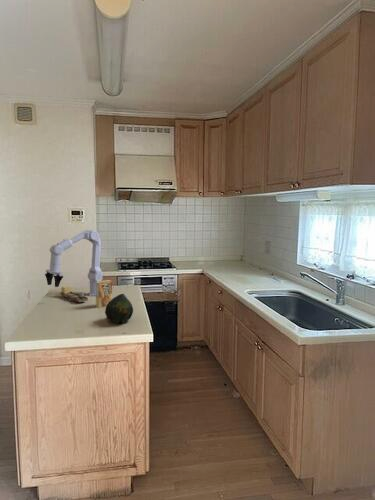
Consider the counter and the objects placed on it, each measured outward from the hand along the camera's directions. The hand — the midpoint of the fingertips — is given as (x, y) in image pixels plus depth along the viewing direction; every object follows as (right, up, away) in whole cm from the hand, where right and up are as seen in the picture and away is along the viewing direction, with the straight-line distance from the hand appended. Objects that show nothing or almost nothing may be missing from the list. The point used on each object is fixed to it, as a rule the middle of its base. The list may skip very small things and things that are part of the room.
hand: (53, 285), depth 230 cm
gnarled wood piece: (+11, -10, +8) cm, 16 cm away
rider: (+3, -6, +14) cm, 16 cm away
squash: (+47, -16, -32) cm, 59 cm away
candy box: (+33, -12, -5) cm, 36 cm away
